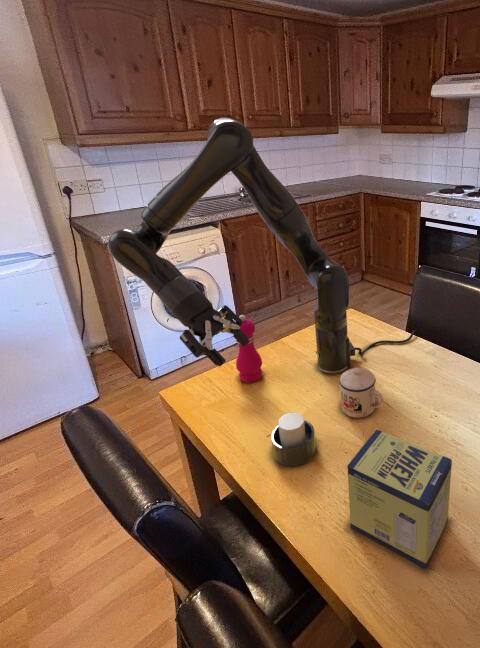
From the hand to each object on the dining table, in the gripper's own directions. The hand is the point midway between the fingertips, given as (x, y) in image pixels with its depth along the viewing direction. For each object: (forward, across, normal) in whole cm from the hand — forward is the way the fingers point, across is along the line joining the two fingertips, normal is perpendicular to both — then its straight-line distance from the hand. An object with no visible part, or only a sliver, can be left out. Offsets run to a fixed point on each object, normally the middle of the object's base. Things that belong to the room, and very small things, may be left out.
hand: (235, 353), depth 93 cm
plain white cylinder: (+25, -3, +4) cm, 25 cm away
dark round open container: (+25, -3, +5) cm, 26 cm away
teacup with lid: (+32, +16, -2) cm, 36 cm away
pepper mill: (+7, +18, +24) cm, 30 cm away
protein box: (+45, -12, -15) cm, 49 cm away
